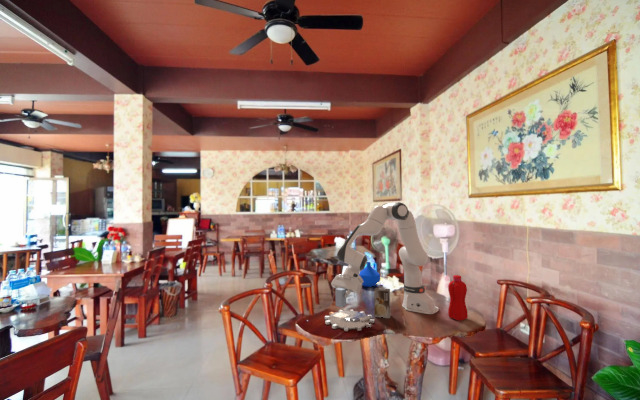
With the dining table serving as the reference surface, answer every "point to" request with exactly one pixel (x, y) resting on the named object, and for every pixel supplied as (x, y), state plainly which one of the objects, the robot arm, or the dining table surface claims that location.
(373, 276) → the vase
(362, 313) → the sprocket
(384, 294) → the coffee box
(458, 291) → the water bottle
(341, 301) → the drive pin
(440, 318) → the dining table surface
